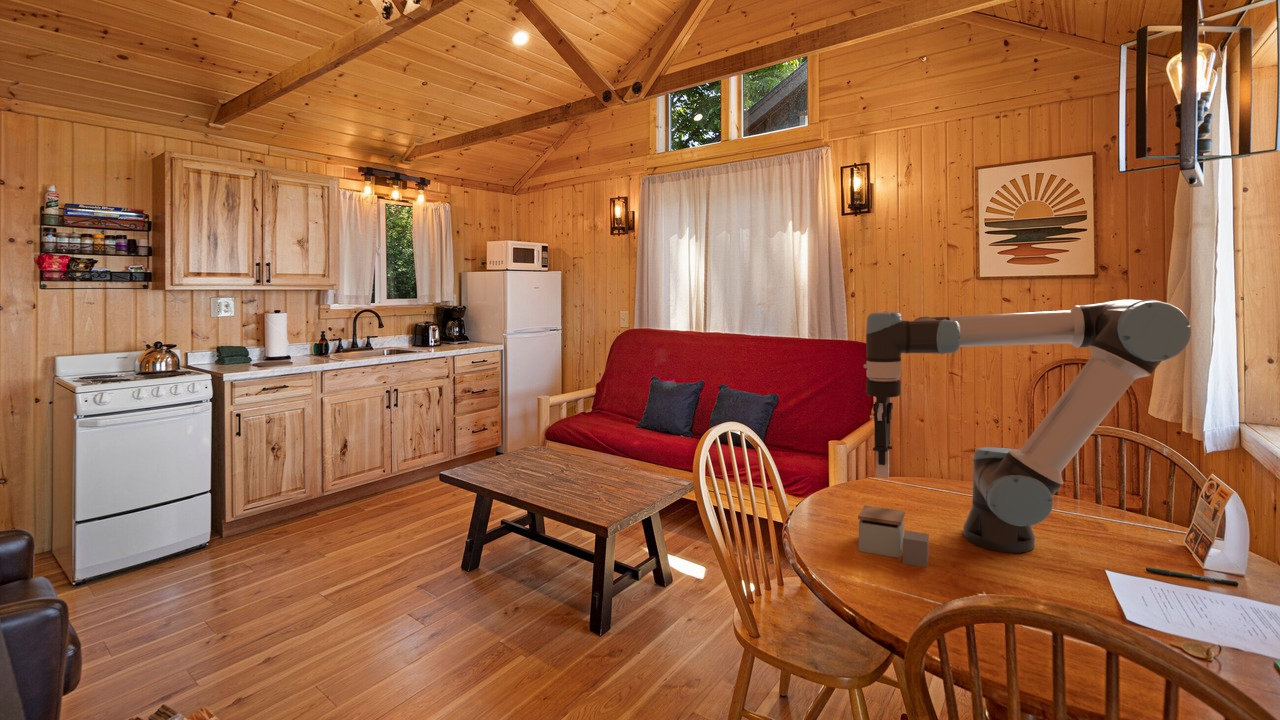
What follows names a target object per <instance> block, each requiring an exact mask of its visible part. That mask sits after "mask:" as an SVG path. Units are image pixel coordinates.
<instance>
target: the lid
mask: <svg viewBox="0 0 1280 720" xmlns="http://www.w3.org/2000/svg"><path fill="white" fill-rule="evenodd" d="M862 507H863V508H861V511H860V512H859V513H858V515H857V520H859V521H860V520H867V521H873V522H880V523H887V524H894V525H901V523H902V521H903V518H904V519H905V514H906V510H901V509H894V508H893V509H892V508H887V507H880V506H871V505H864V506H862Z"/></svg>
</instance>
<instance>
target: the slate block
mask: <svg viewBox="0 0 1280 720" xmlns="http://www.w3.org/2000/svg"><path fill="white" fill-rule="evenodd" d="M929 541H930V534H929V533H926V532H919V531H912V530H906V529H905V530H904V536H903V545H902V564H904V565H911V566H915V567H923V568H928V565H929V564H928V562H929V543H930V542H929Z"/></svg>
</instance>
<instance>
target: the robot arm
mask: <svg viewBox="0 0 1280 720" xmlns="http://www.w3.org/2000/svg"><path fill="white" fill-rule="evenodd" d="M1191 334H1192V328H1191V323H1190V320H1189V318H1188V317H1187V315H1186V314H1185V313H1184V312H1183V311H1182V310H1181V309H1180V308H1178V307H1177V306H1175V305H1173V304H1171V303H1167V302H1163V301H1161V300H1158V299H1157V300H1156V299H1143V300H1142V299H1141V300H1140V299H1118V300H1112V301H1105V302H1100V303H1093V304H1083V305H1074V306H1073V307H1071V308H1070V309H1069V310H1056V311H1055V310H1052V311H1050V310H1049V311H1034V312H1013V313H1012V312H1011V313H1010V312H1009V313H992V314H991V313H990V314H972V315H954V316H935V317H934V316H932V317H931V316H920V317H918V318H915V319H914V320H903V318H902V314H901V313H900V312H889V311H888V312H886V311H885V312H873V313H870V314H868V316H867V318H866V331H865V335H866V336H865V337H866V339H865V341H866V343H865V345H866V350H865V351H866V353H865V355H866V356H865V357H866V358H865V359H866V362H865V363H864V364H863V368H864V369H866V370H865V371H866V377H867V379H866V380H865V394H866V395H867V396H869V397H875V398H876V399H875V400H876V401H874V403H873V405H872V410H873V411H872V412H873V415H872V416H873V422H874V447H873V448H872V451H875V477H876V478H881V479H889V478H890V450H893V445H891V421H892V416H893V415H892V414H893V413H892V411H893V409H894V403H893V402H891V398H896V397H899V396H900V395H901V394H902V393H901V387H902V386H901V385H902V383H901V380H900V378H901V377H902V357H901V355H902V354H940V355H944V354H955V353H957V352H959V350H960V348H962V347H963V348H965V347H967V348H968V347H992V346H993V347H994V346H995V347H996V346H999V347H1000V346H1029V345H1033V346H1034V345H1060V344H1061V345H1062V344H1063V345H1064V344H1065V345H1066V344H1068V345H1069V344H1070V345H1071V346H1073V347H1074V348H1077V349H1078V348H1089V353H1090V358H1089V360H1088V361H1087V362H1086V363H1085V364H1084V366H1083V367H1082V368H1081V370H1080V371H1079V372H1078V374H1077V375H1076V376H1075V377H1074V379H1073V380H1072V382H1071V383H1070V384H1069V385H1068V387H1067V388H1066V389H1065V391H1064V392H1063V393H1062V394H1061V396H1060V397H1059V399H1057V401H1055V402H1056V403H1055V404H1054V405H1053V407H1052V408H1051V409H1050V410H1049V411H1048V412H1047V414H1046V415H1045V417H1043V419H1042V420H1041V422H1039V424H1038V426H1037V427H1036V428H1035V429H1034V431H1033V432H1032V434H1031V435H1030V436H1029V437H1028V438H1027V440H1026V442H1025V443H1024V444H1023V445H1022V447H1019V448H1017V449H1016V448H1015V449H1014V448H1006V447H993V446H992V447H990V446H989V447H988V446H987V447H978V448H977V449H975V451H974V454H973V458H972V462H973V468H972V469H973V472H972V473H973V474H972V503H971V509H970V511H969V513H968V515H967V517H966V520H965V522H964V525H963V534H962V535H963V537H964V539H965V540H966V541H967V542H968V543H971V544H973V545H974V546H978V547H979V548H983V549H986V550H990V551H994V552H999V553H1001V552H1002V553H1009V554H1012V553H1013V554H1014V553H1015V554H1018V553H1019V554H1020V553H1026V552H1029V551H1032V550H1033V549H1035V545H1036V544H1035V543H1036V541H1035V540H1036V539H1035V538H1036V537H1035V534H1034V530H1033V527H1032V526H1034V525H1037V524H1040V523H1042V522H1044V521H1045V520H1046V519H1047V518H1048V517H1049V516H1050V514H1051V512H1052V511H1053V508H1054V507H1053V505H1054V499H1053V497H1054V495H1055V494H1056V493H1057V491H1059V489H1060V488H1061V487H1062V485H1063V484H1064V481H1063V476H1062V472H1063V470H1064V469H1065V468H1066V466H1067V465H1068V464H1069V463H1070V462H1071V460H1072V459H1073V458H1074V457H1075V456H1076V454H1077V453H1078V452H1079V450H1080V449H1081V448H1082V447H1083V445H1084V444H1086V442H1087V440H1088V439H1089V438H1090V436H1091V435H1092V434H1093V433H1094V432H1095V430H1096V429H1097V428H1098V427H1099V426H1100V425H1101V423H1102V421H1104V419H1105V418H1106V417H1107V416H1108V414H1109V413H1110V412H1111V411H1112V409H1113V408H1114V407H1115V405H1116V404H1117V403H1118V402H1119V400H1120V399H1121V398H1122V396H1123V395H1125V393H1126V391H1127V390H1128V389H1129V388H1130V386H1132V385H1133V384H1134V381H1136V380H1137V379H1140V378H1145V377H1151V375H1152V373H1153V372H1154V371H1155V370H1156V369H1157V368H1158V366H1160V364H1161V363H1162V362H1163V361H1167V360H1169V359H1172V358H1174V357H1176V356H1178V355H1180V354H1181V353H1182V351H1184V350H1185V348H1186V347H1187V345H1188V344H1189V341H1190V339H1191V336H1192V335H1191Z"/></svg>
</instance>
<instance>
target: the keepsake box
mask: <svg viewBox="0 0 1280 720" xmlns="http://www.w3.org/2000/svg"><path fill="white" fill-rule="evenodd" d="M904 519H905V517H904V518H903V521H902V523H901V525H894V524H887V523H880V522H873V521H867V520H860V519H859V521H858V550H857V551H858V552H862V553H868V554H873V555H874V554H875V555H879V556H885V557H890V558H891V557H892V558H898V559H900V557H901V551H902V550H903V538H904V534H905V530H904V527H905V526H904V525H905V524H904V523H905V520H904Z"/></svg>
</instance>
